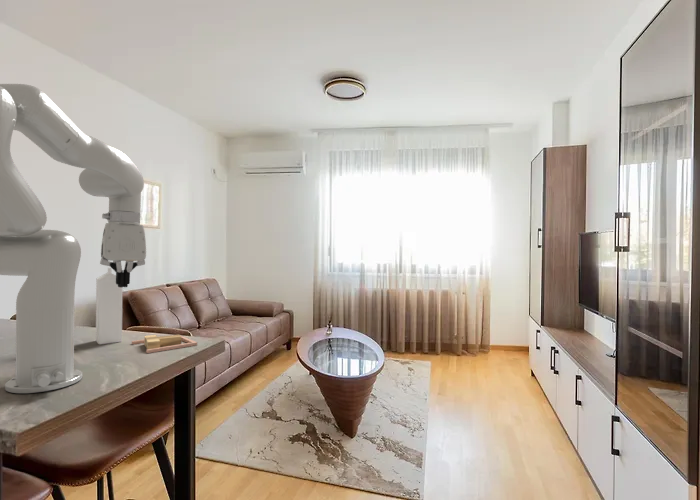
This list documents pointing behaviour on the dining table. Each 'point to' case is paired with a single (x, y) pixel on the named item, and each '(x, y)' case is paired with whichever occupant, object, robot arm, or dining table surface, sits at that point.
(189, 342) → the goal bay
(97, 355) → the dining table surface
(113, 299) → the milk
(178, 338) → the t block
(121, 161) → the robot arm
